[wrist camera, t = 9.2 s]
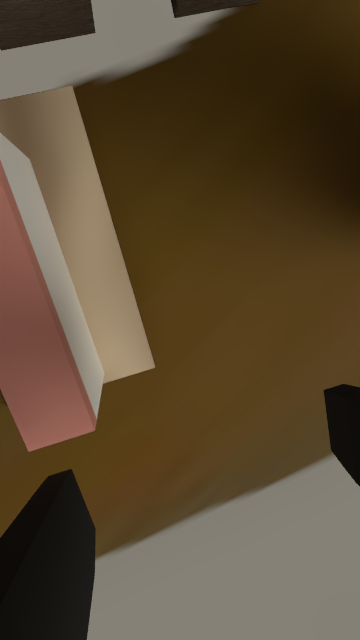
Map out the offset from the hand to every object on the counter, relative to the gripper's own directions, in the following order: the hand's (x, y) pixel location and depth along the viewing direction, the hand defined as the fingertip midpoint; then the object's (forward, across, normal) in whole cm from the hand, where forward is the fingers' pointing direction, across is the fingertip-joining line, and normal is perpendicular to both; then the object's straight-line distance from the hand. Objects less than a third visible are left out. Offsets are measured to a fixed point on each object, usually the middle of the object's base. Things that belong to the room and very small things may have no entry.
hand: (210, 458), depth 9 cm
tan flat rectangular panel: (+10, +5, -6) cm, 13 cm away
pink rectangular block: (+9, +5, -5) cm, 12 cm away
